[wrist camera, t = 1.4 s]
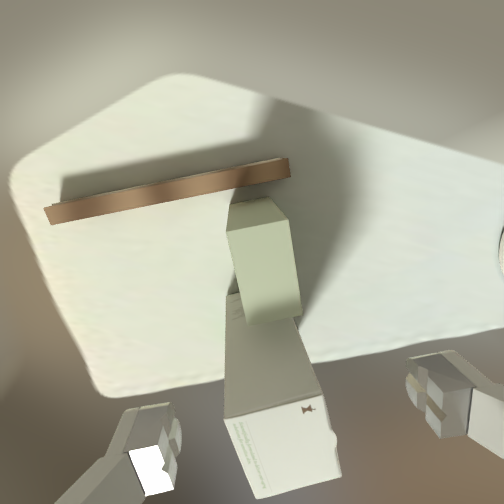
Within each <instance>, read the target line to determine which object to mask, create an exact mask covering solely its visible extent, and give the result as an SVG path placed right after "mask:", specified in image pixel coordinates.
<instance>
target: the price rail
mask: <svg viewBox="0 0 504 504" xmlns="http://www.w3.org/2000/svg"><path fill="white" fill-rule="evenodd" d="M288 177H291V175H290V168H289V161H288V158H283V159H281V158H276V159H271V160H266V161H261V162H256V163H251V164H246V165H241V166H236V167H231V168H226V169H221V170H216V171H211V172H206V173H201V174H196V175H192V176H187V177H182V178H177V179H172V180H167V181H162V182H157V183H152V184H147V185H142V186H137V187H132V188H127V189H122V190H117V191H112V192H108V193H103V194H98V195H93V196H88V197H83V198H78V199H73V200H68V201H63V202H58V203H54V204H52V206H49V207H45V208H44V211H45V213H46V215H47V217H48V220H49V222H50V224H51V225H55V224H60V223H65V222H70V221H74V220H79V219H84V218H89V217H94V216H99V215H104V214H109V213H114V212H119V211H124V210H129V209H134V208H139V207H144V206H149V205H154V204H159V203H164V202H169V201H174V200H179V199H184V198H189V197H193V196H198V195H203V194H208V193H213V192H218V191H223V190H228V189H233V188H238V187H243V186H248V185H253V184H258V183H263V182H268V181H273V180H278V179H283V178H288Z"/></svg>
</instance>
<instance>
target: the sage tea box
mask: <svg viewBox="0 0 504 504" xmlns="http://www.w3.org/2000/svg"><path fill="white" fill-rule="evenodd" d="M226 234H227V239H228V243H229V248H230V252H231V256H232V261H233V265H234V269H235V274H236V278H237V282H238V287H239V291H240V296H241V300H242V304H243V309H244V313H245V317H246V322H247V326H251V325H256V324H261V323H266V322H271V321H276V320H281V319H286V318H291V317H296V316H301V315H303V312H302V305H301V299H300V292H299V285H298V279H297V272H296V266H295V259H294V252H293V246H292V239H291V233H290V226H289V220H288V218H287V217H286V216H285V215H284V214H283V212H282V211H281V210H280V209H279V208H278V207H277V205H276V204H275V203H274V202H273V201H272V200H271V198H270V197H264V198H259V199H255V200H250V201H245V202H240V203H235V204H230V205H229V213H228V220H227V228H226Z"/></svg>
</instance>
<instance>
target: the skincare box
mask: <svg viewBox="0 0 504 504" xmlns="http://www.w3.org/2000/svg"><path fill="white" fill-rule="evenodd" d="M224 422H225V424H226V426H227V429H228V432H229V434H230V437H231V439H232V441H233V444H234V447H235V449H236V452H237V454H238V457H239V459H240V462H241V464H242V466H243V469H244V472H245V474H246V476H247V479H248V481H249V484H250V486H251V488H252V491H253V493H254V495H255V497H256V499H260V498H265V497H269V496H273V495H277V494H280V493H284V492H287V491H290V490H294V489H297V488H301V487H304V486H308V485H311V484H316V483H320V482H323V481H327V480H332V479H335V478H339V477H341V476H342V473H341V469H340V465H339V459H338V454H337V449H336V444H337V438H336V435H335V433H334V432H333V431H332V428H331V424H330V419H329V415H328V411H327V406H326V402H325V398H324V395H323V393H322V390H321V387H320V385H319V383H318V380H317V378H316V375H315V373H314V370H313V368H312V365H311V362H310V360H309V357H308V355H307V352H306V350H305V347H304V344H303V342H302V339H301V337H300V334H299V332H298V329H297V326H296V324H295V321H294V319H293V317H291V318H286V319H281V320H276V321H271V322H266V323H261V324H256V325H251V326H247V322H246V317H245V313H244V309H243V304H242V300H241V296H240V292H239V293H235V294H232V295H228V296H226V331H225V397H224Z"/></svg>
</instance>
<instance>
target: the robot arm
mask: <svg viewBox="0 0 504 504" xmlns="http://www.w3.org/2000/svg"><path fill="white" fill-rule="evenodd" d="M499 261H500V267H501V270H502V273H503V275H504V232H503V235H502V238H501V242H500V248H499ZM406 368H407V370H408V371H409V372H410V373H409V375H408V376H407V377H406V388H407V392H408V395H409V397H410V399H411V400H412V402H413V403H414V405H415V406H416V407H417V408H418V409H420V410H422V411H423V412H425V413H426V421H427V422H428V423H429V425H430V426H431V427H432V429H433V430H434V431H435V433H436V434H437V435H438V436H439V438H440V439H441V438H448V437H454V436H460V435H467V434H468V436H469V437H470V438H472V439H473V440H475V441H476V442H478V443H479V444H481V445H483V446H484V447H485V448H487V449H489V450H490V451H492V452H493V453H495V454H496V455H498V456H499V457H501V458H502V459H504V385H502V384H500V383H499V384H494V383H493V382H491V381H490V380H489V379H488V378H487V377H485V376H484V375H483V374H482V373H481V372H479V371H478V370H477V369H476V368H475V367H473V366H472V365H471V364H470V363H469V362H468V361H466V360H465V359H464V358H463V357H462V356H460V355H459V354H458V353H457V352H456V351H453V350H447V351H442V352H437V353H432V354H427V355H422V356H417V357H411V358H408V359H407V361H406ZM174 414H175V408H174V405H173V403H171V402H168V403H161V404H155V405H149V406H142V407H139V408H132V409H127V410H126V411H125V412H124V413H123V415H122V417H121V420H120V422H119V424H118V427H117V429H116V431H115V434H114V436H113V438H112V441H111V443H110V445H109V448H108V450H107V452H106V455H105V457H102V458H99V459H98V460H97V461H96V462H95V463H94V464H93V465H92V466H91V467H90V468H89V469H88V470H87V471H86V472H85V473H84V474H83V475H82V476H81V477H80V478H79V479H78V480H77V481H76V482H75V483H74V484H73V485H72V486H71V487H70V488H69V489H68V490H67V491H66V492H65V493H64V494H63V495H62V496H61V497H60V498H59V499H58V500H57V501H56V502H55V503H54V504H142V502H143V501H144V499H145V496H146V495H150V494H155V493H159V492H163V491H168V490H173V488H174V482H175V477H176V472H177V464H176V461H175V458H176V457H177V455H178V454H179V453H180V448H181V427H180V423H179V420H177V419H176V418H174Z"/></svg>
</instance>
